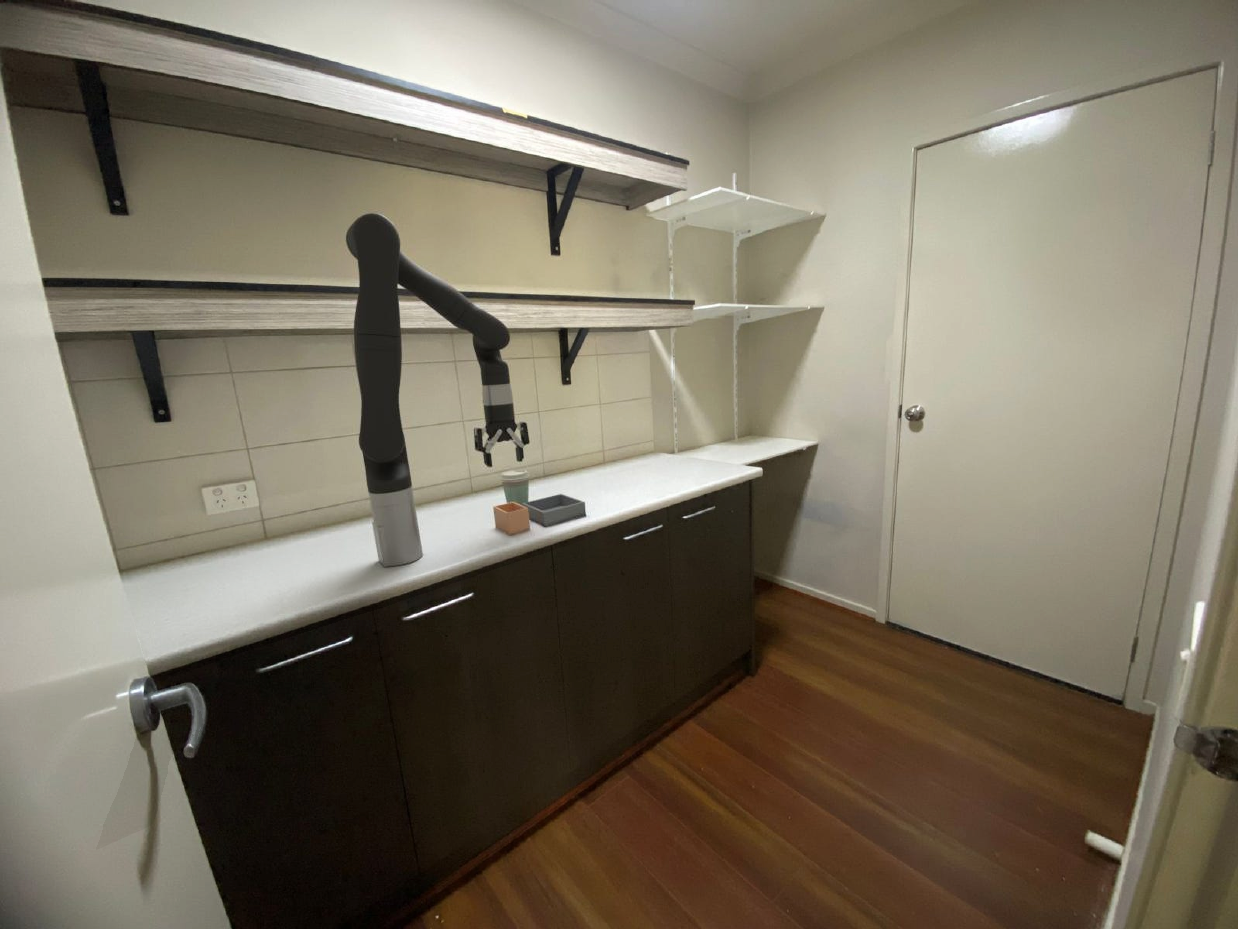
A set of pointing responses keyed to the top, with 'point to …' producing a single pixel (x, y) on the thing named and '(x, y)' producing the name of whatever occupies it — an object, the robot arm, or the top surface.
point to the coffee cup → (516, 486)
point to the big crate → (555, 509)
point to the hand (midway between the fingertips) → (505, 464)
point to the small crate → (511, 518)
